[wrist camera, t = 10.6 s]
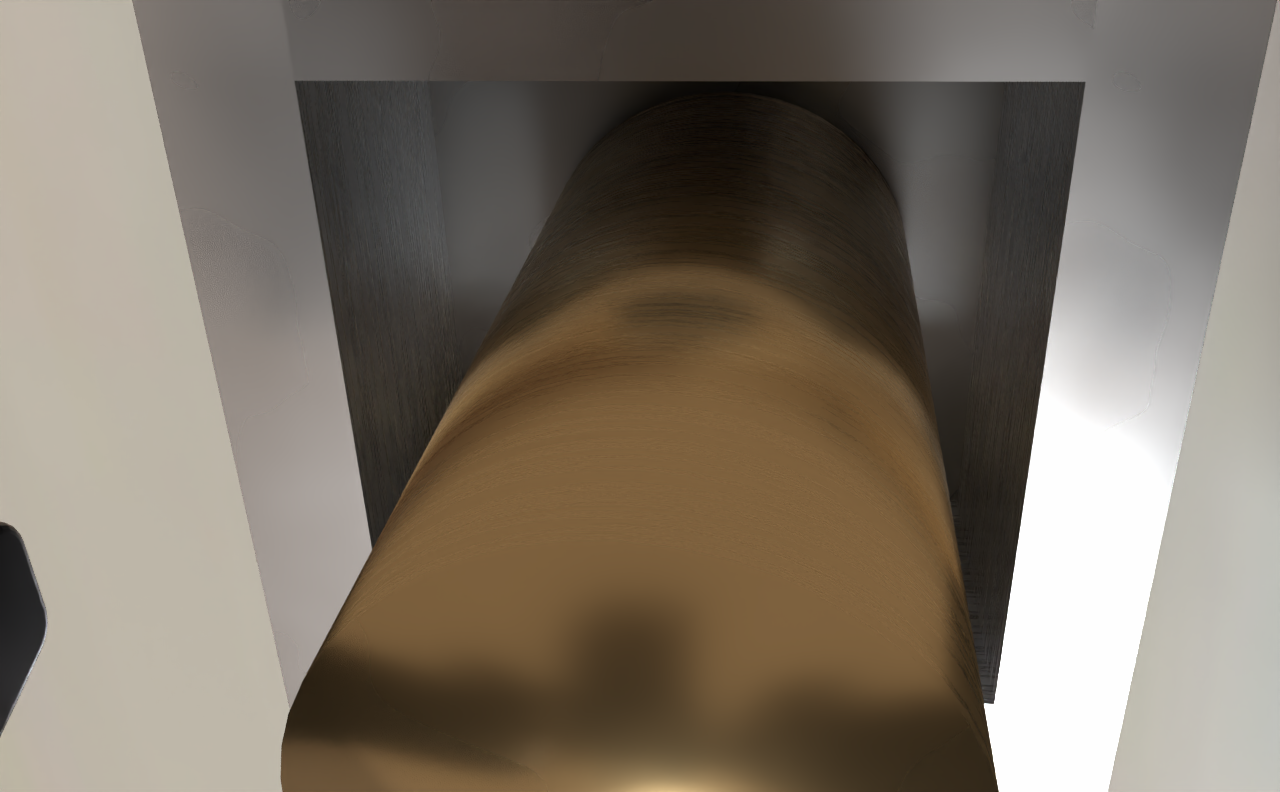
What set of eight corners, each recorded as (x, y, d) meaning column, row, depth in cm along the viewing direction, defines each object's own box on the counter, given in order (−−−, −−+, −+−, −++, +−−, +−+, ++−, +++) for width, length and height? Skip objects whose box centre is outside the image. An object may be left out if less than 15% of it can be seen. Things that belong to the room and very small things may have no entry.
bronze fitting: (921, 92, 12) (1054, 567, 6) (893, 429, 14) (964, 1094, 7) (537, 90, 13) (216, 523, 6) (559, 416, 15) (336, 1028, 8)
